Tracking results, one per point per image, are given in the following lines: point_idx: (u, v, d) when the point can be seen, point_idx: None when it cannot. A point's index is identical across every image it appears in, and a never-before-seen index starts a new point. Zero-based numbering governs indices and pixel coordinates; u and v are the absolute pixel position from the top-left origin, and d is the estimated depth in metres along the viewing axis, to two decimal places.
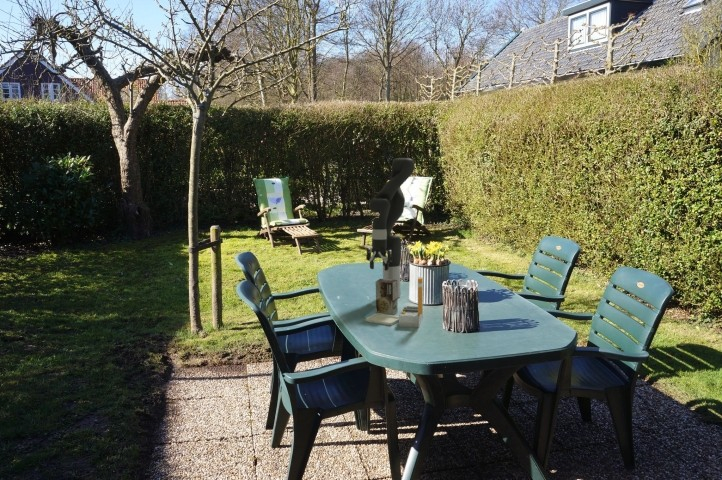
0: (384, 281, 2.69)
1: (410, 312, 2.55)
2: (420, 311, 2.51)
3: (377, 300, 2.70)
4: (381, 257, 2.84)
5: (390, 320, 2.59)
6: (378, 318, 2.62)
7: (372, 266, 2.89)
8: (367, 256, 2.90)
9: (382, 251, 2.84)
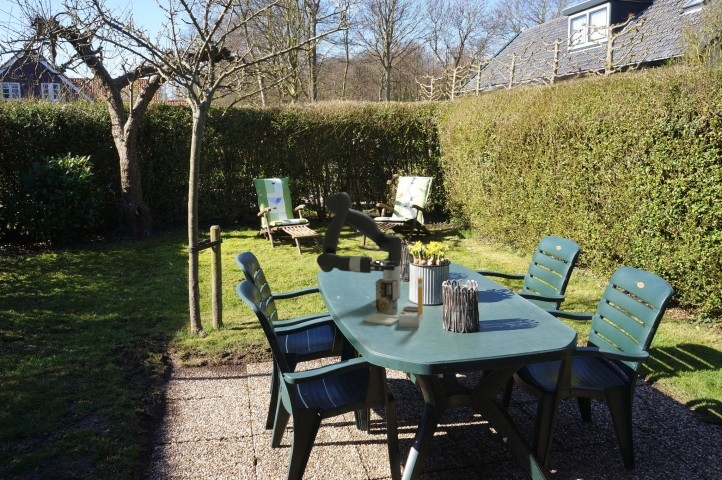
0: (384, 281, 2.69)
1: (410, 312, 2.55)
2: (420, 311, 2.51)
3: (377, 300, 2.70)
4: (380, 270, 2.51)
5: (390, 320, 2.59)
6: (378, 318, 2.62)
7: (394, 264, 2.56)
8: (384, 265, 2.60)
9: None
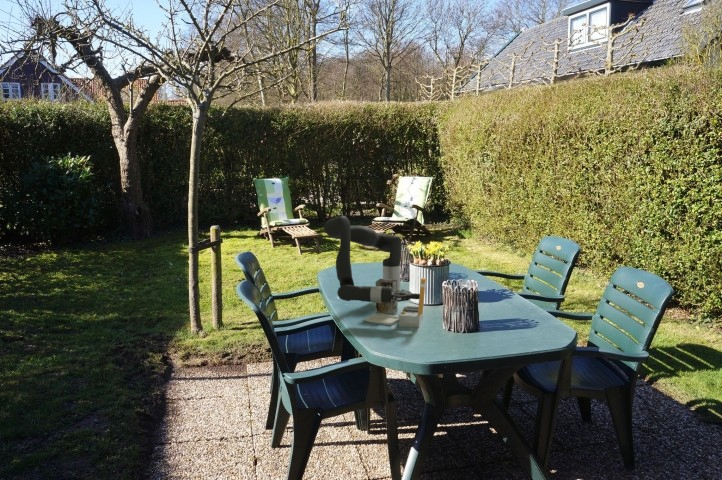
0: (384, 281, 2.69)
1: (410, 312, 2.55)
2: (420, 311, 2.51)
3: None
4: None
5: (390, 320, 2.59)
6: (378, 318, 2.62)
7: None
8: None
9: None
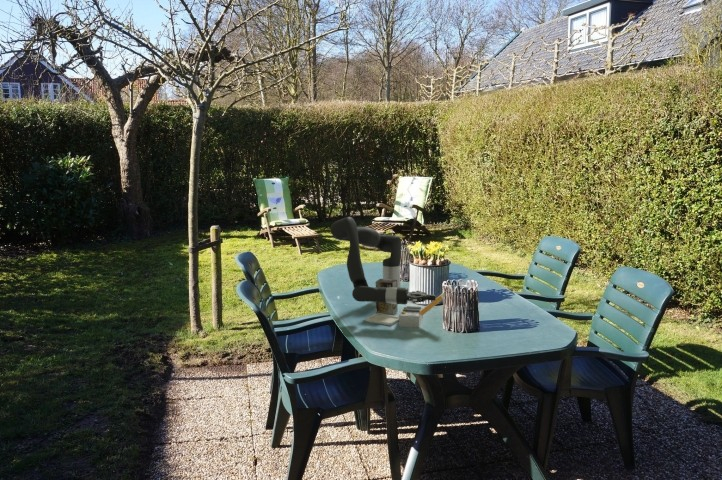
0: (384, 281, 2.69)
1: (410, 312, 2.55)
2: (422, 313, 2.51)
3: None
4: None
5: (390, 320, 2.59)
6: (378, 318, 2.62)
7: None
8: None
9: None
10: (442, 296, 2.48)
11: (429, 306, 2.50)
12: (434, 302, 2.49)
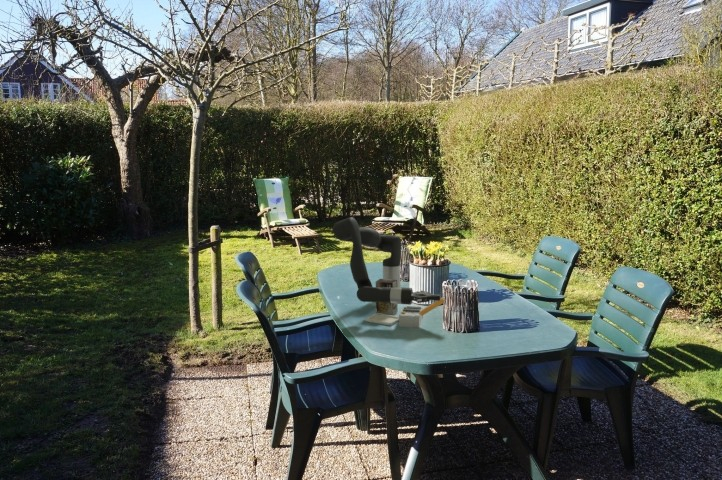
0: (384, 281, 2.69)
1: (410, 312, 2.55)
2: (423, 313, 2.51)
3: None
4: None
5: (390, 320, 2.59)
6: (378, 318, 2.62)
7: None
8: None
9: None
10: None
11: (430, 307, 2.50)
12: (435, 304, 2.49)
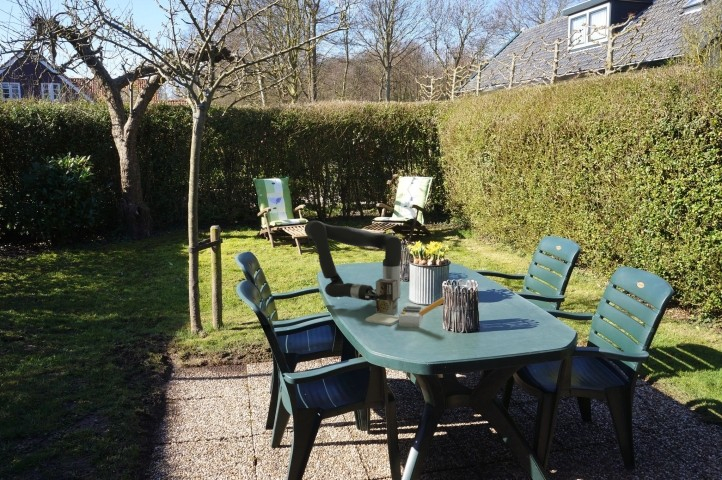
0: (384, 281, 2.69)
1: (410, 312, 2.55)
2: (423, 313, 2.51)
3: (377, 300, 2.70)
4: None
5: (390, 320, 2.59)
6: (378, 318, 2.62)
7: None
8: None
9: None
10: None
11: (430, 307, 2.50)
12: (435, 304, 2.49)
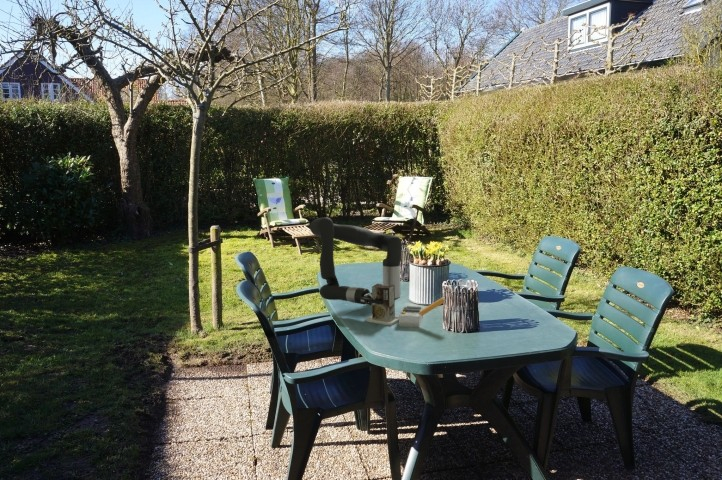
0: (381, 286, 2.57)
1: (410, 312, 2.55)
2: (423, 313, 2.51)
3: (373, 306, 2.59)
4: None
5: None
6: None
7: None
8: None
9: None
10: None
11: (430, 307, 2.50)
12: (435, 304, 2.49)
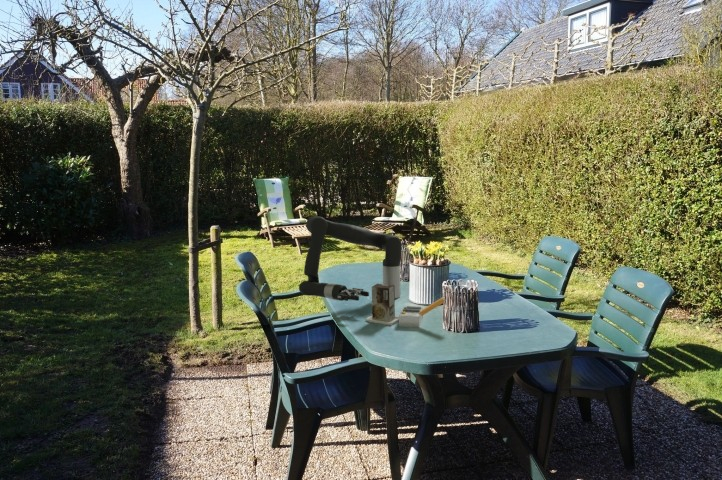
0: (380, 286, 2.57)
1: (410, 312, 2.55)
2: (423, 313, 2.51)
3: (373, 306, 2.58)
4: None
5: None
6: None
7: (365, 294, 2.69)
8: None
9: None
10: None
11: (430, 307, 2.50)
12: (435, 304, 2.49)
